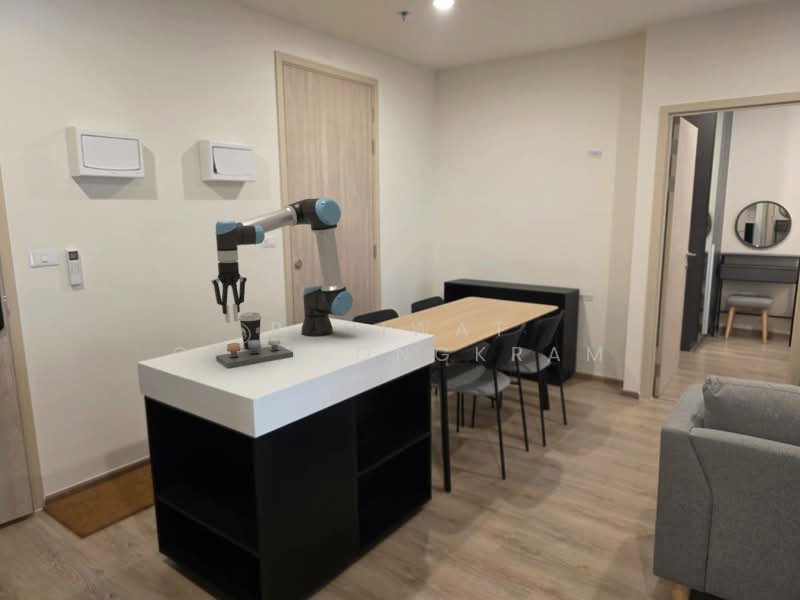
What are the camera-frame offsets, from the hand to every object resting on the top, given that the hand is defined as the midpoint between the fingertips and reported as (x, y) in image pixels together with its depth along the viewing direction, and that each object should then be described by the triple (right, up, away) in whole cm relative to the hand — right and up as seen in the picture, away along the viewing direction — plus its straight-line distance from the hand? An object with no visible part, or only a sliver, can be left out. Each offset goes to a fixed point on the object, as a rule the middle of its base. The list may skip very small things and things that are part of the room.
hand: (231, 321), depth 212 cm
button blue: (+7, -13, +7) cm, 16 cm away
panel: (+7, -15, +8) cm, 19 cm away
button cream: (+14, -12, +12) cm, 22 cm away
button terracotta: (0, -13, +2) cm, 14 cm away
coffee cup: (+1, -13, +25) cm, 28 cm away
